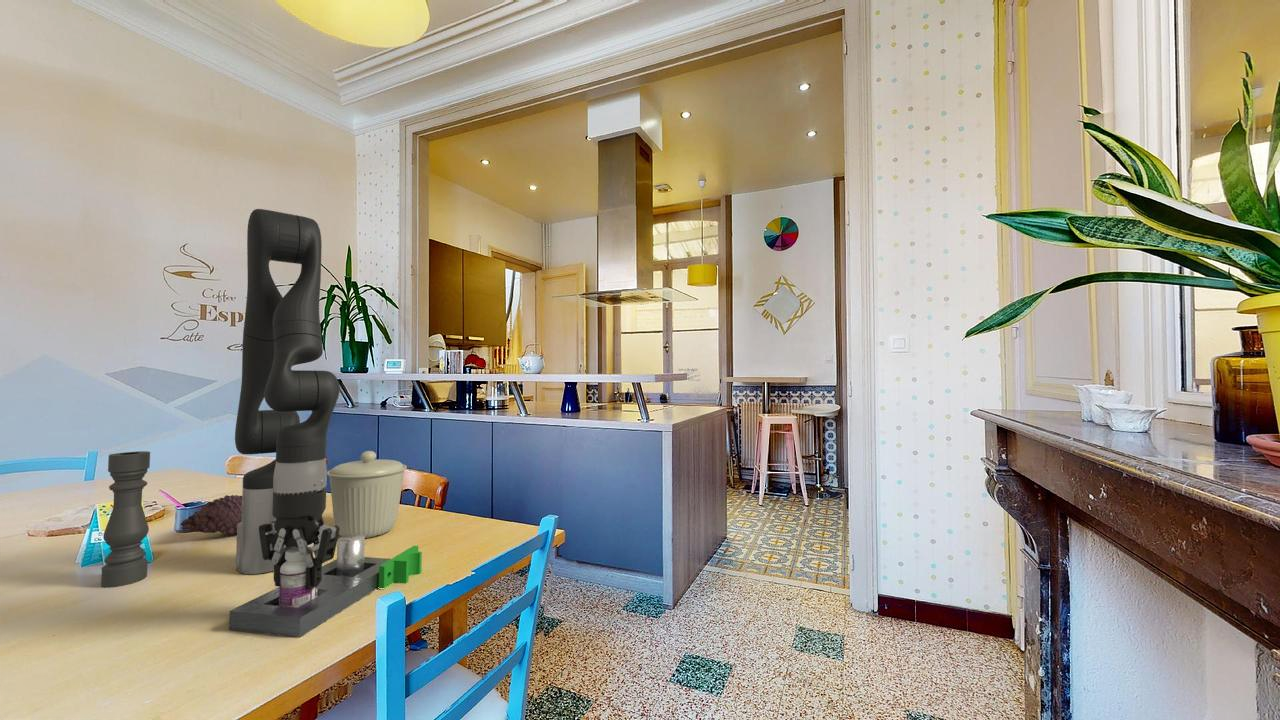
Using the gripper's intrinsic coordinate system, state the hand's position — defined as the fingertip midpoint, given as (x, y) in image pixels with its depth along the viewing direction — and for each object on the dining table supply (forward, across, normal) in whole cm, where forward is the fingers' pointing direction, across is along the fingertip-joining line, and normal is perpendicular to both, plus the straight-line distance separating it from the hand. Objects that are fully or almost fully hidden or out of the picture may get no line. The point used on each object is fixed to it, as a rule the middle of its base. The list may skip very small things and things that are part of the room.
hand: (297, 585), depth 82 cm
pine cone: (+5, -52, +32) cm, 61 cm away
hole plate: (+5, 0, +6) cm, 8 cm away
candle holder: (+5, -45, +6) cm, 46 cm away
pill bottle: (+4, 0, 0) cm, 4 cm away
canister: (+5, -19, +40) cm, 44 cm away
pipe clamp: (+5, +8, +17) cm, 20 cm away
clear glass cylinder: (+5, 0, +12) cm, 13 cm away
